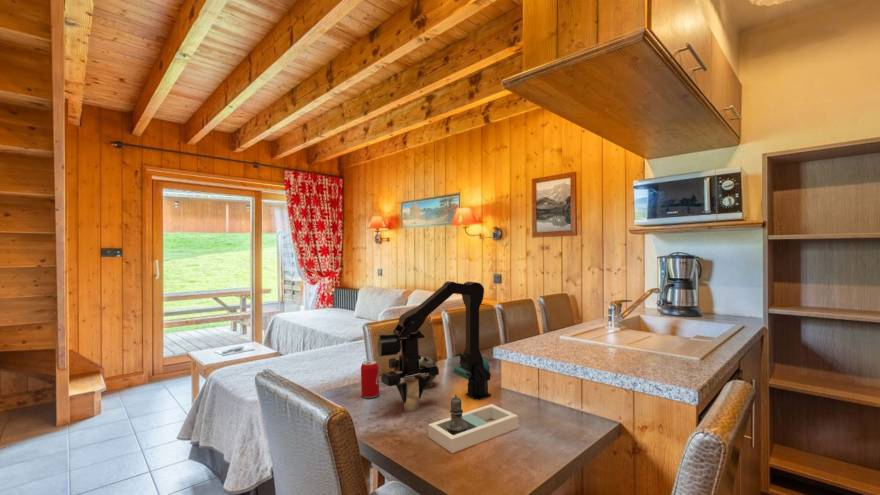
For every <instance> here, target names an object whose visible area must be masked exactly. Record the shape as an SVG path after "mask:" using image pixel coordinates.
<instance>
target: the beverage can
mask: <svg viewBox="0 0 880 495" xmlns="http://www.w3.org/2000/svg"><path fill="white" fill-rule="evenodd" d="M379 370H380V369H379V364H378V362H377V361H376V360H372V359H371V360H365V361H363V362H362V363H361V365H360V384H361V385H360V386H361V387H360V388H361V396H362V397H363V398H365V399H373V398H376V397H378V396H379V395H380V378H379V376H380V374H379Z"/></svg>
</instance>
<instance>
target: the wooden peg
mask: <svg viewBox="0 0 880 495" xmlns="http://www.w3.org/2000/svg"><path fill="white" fill-rule="evenodd" d="M404 382H405V383H407V392H406V403H404V402H403V410H404V411H406V412H416V411H418V410H420V399H419V380H418V379H416V378H415V377H409V378H404Z"/></svg>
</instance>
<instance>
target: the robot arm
mask: <svg viewBox="0 0 880 495" xmlns="http://www.w3.org/2000/svg"><path fill="white" fill-rule="evenodd" d="M454 294H459V295H461V297H462V298H461V299H462V302H463V303H464V307H465V348H464V351H463V352H460V353H459V364H458V365H461V367H462V369H463V370H464V371H465V372H466V375H467V376H469V377H470V378H468V379H467V381H468V382H467V392H466V393H465V395H466V396H468V397H470V398H472V399H474V400H477V401H478V400H482V399H485V398H488V397H491V396H492V394H491V393H489V382H488V381H490V380H491V375H492V374H491V372H490V373H489V372H488V371H487V370H486V369H485V368H484V363H483V358H484V357H483V356H482V355H483V354H482V352H481V350H480V307H481V305H482V303H483V300H484V295H485V288H484V285H482V283H480V282H475V281H466V282H464V283H459V282H455V281H445V282H444V283H443V285H442V286H441V287H439V289H437V290H436V291H435V292H433V293H432V294H431V295H430V296H429V297H427V298H426V299H425V300H424V301H423V302H422V303H420V304H419V305H418V306H416V307H413V308H411V309H409V310H407V311H405V312H404V313H402V314H400V316H399V317H398V323H397V325H396V326H395V328H394V329H393V331H392V333H387V334H385V333H381V334H379V335H378V340H377V343H376V348H377V354H378V357H381V358H382V357H388V356H394V355H398V354H399V353H400V352H401V353H400V355H399V357H398V359H396V358H395V357H392V358H389V359H388V368H389V369H390V370H391V369H394V371H393V370H391V371H387V372H383V373H382V375H381V383H383V384H385V386H387V387H393V386H396V388H397V390H398V392H399V394H400V397H401V400H402V403H403V404H404V403H406V392H407V383H405V382H404V380H405V379H408V378H415V377H416V379H418V380H419V400H420V399H421V397H422V394H423V392H424V390H425V389H424V388H425V386H426V384H427V382H428V380H429V379H431V377H429V374H430V375H431V376H435V375H436V376H439V375H440V370H439V367H438V365H436V364H435V365H433V364H431V363H428V364H423V365H421V366H420V368H419V359H421V356H422V355H420V351H419V350H420V348H419V347H420V346H419V339H424V338H425V335H424V334H423V333H422V332H421V331H420V330H419V329H420V328H421V327H422V326H423V324H424V323H425V321H426V319H427V318H428V316H429V315H431V314H432V312H434V311H435V310H436V309H437V308H439V307H440V306H441V305H442V304H443V303H444V302H446V301H447V300H448V299H449V298H450V297H452V295H454ZM395 371H398V372H395ZM399 372H400V373H399ZM428 373H429V374H428ZM414 376H415V377H414Z"/></svg>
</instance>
